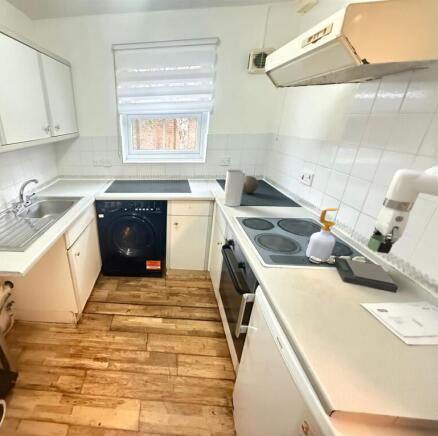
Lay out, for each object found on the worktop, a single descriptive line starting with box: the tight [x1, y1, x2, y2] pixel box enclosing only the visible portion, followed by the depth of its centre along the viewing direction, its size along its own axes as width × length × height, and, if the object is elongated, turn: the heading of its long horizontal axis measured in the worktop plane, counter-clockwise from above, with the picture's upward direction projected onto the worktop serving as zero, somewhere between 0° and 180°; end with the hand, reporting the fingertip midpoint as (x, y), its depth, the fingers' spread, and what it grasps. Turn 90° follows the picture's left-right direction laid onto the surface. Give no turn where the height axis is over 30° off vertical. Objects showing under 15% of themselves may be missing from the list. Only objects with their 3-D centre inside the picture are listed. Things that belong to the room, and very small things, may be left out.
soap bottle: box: [305, 207, 339, 263], centre depth 106 cm, size 9×9×25 cm
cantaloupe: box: [242, 175, 259, 195], centre depth 202 cm, size 14×14×15 cm
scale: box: [333, 256, 399, 294], centre depth 97 cm, size 16×16×3 cm
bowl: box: [366, 234, 394, 254], centre depth 91 cm, size 6×6×5 cm
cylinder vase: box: [222, 169, 246, 208], centre depth 175 cm, size 12×12×25 cm
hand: (378, 247), depth 91 cm, fingers closed on bowl, 6 cm apart
